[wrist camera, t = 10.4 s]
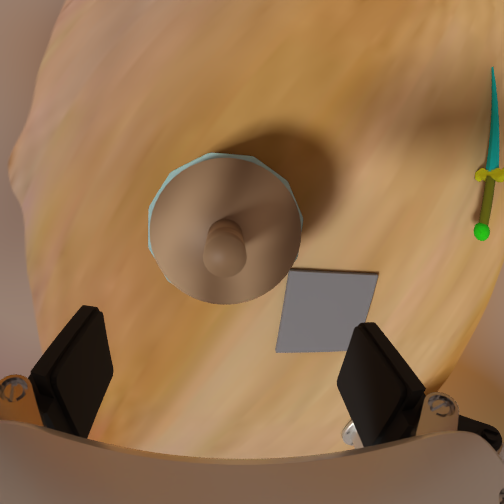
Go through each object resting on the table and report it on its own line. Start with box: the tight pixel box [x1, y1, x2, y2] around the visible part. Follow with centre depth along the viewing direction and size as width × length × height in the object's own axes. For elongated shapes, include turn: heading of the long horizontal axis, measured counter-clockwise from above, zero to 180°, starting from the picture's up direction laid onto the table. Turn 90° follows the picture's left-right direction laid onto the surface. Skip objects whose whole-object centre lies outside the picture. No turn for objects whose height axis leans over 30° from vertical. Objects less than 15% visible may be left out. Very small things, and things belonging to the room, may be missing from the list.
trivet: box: [275, 269, 378, 353], centre depth 37 cm, size 12×12×1 cm
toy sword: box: [474, 67, 504, 241], centre depth 29 cm, size 3×6×30 cm
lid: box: [150, 158, 301, 304], centre depth 21 cm, size 12×12×6 cm
